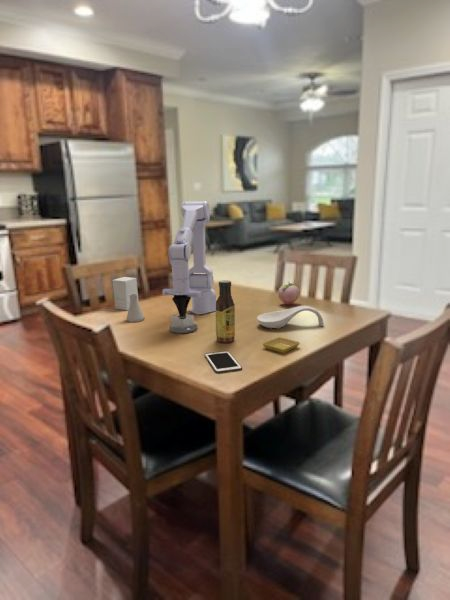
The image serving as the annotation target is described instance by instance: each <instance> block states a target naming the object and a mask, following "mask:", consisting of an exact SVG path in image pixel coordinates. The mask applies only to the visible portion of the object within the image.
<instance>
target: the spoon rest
mask: <svg viewBox="0 0 450 600" xmlns="http://www.w3.org/2000/svg"><path fill="white" fill-rule="evenodd" d="M304 311H306V312H307V311H308V312H311V313H313V314H314V315H315V316H316V317H317V322H318V325H319V326H320V327H324V324H325V323H324V319H323V316H322V314H321V313H320V312H319V311H318V309H317V308H315V307H313V306H308V305H298V306H294V307H290V308H286V309H282V310H278V311H269V312H265V313H262V314H259V315H257V317H256V320H257V322H258V323H259V324H260V325H261V326H263V327H265V328H267V329H272V328H277V329H281V327H282V328H284V326H286V325H287V323H289V322H290V321H291V320H292V319H293V318H294V317H296V316H297V315H298V314H299V313H301V312H304Z"/></svg>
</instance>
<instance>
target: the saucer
mask: <svg viewBox="0 0 450 600" xmlns="http://www.w3.org/2000/svg"><path fill="white" fill-rule="evenodd" d="M280 343H281V344H280ZM300 343H301V342H299V341H297V340H292V339H288V338H284V337H275V338H273V339H271V340H268V341H265V342H262V346H263V347H264V348H265V349H266V350H271V351H273V350H274V352H276V351H277V353H280V352H281V354H285V353H288V352H289V350H290V351H292V350H294V349H296V348H297V347H298V346H299V345H300ZM283 344H285V345H289V346H290V347H289V346H285V345H284V346H283ZM293 348H294V349H293ZM291 349H292V350H291Z"/></svg>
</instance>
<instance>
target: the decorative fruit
mask: <svg viewBox="0 0 450 600" xmlns="http://www.w3.org/2000/svg"><path fill="white" fill-rule="evenodd" d="M277 295H278V298H279V299H280V301H281V302H282V303H284V304H285V305H288V306H291V305H292V304H295V302H296V301H297V300H298V298H299V296H300V289H299V287H298V286H297V284H296V283H293V282H289V283H287V284H283V285H281V286H280V287H279V289H278V291H277Z"/></svg>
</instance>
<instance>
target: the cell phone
mask: <svg viewBox="0 0 450 600" xmlns="http://www.w3.org/2000/svg"><path fill="white" fill-rule="evenodd" d="M204 358H205V359H206V360H207V362H208V364H209V366H211V368H212V370H213V371H214V373H215V374H223V373H229V372H230V373H231V372H239V371H243V367H242V365H241V364H240V363H239V361H237V359H236V358H235V356H233V355H232V354H231V352H230V351H229V350H223V351H222V350H221V351H214V352H206V353H204Z"/></svg>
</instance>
